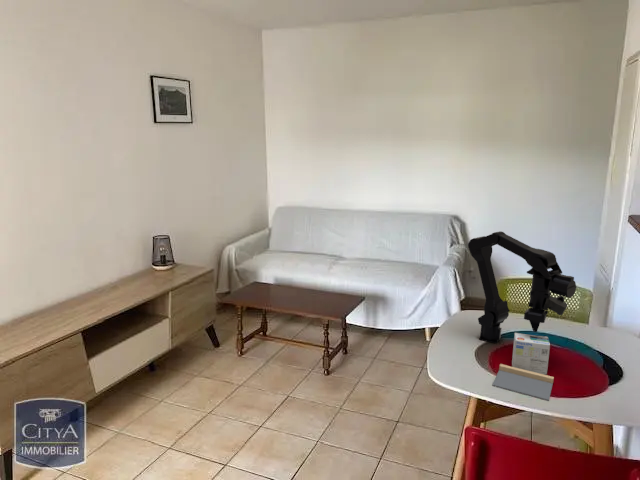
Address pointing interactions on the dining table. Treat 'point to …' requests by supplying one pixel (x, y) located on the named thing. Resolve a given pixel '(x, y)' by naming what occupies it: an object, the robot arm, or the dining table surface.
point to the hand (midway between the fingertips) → (535, 331)
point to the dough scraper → (524, 382)
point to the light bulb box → (531, 353)
